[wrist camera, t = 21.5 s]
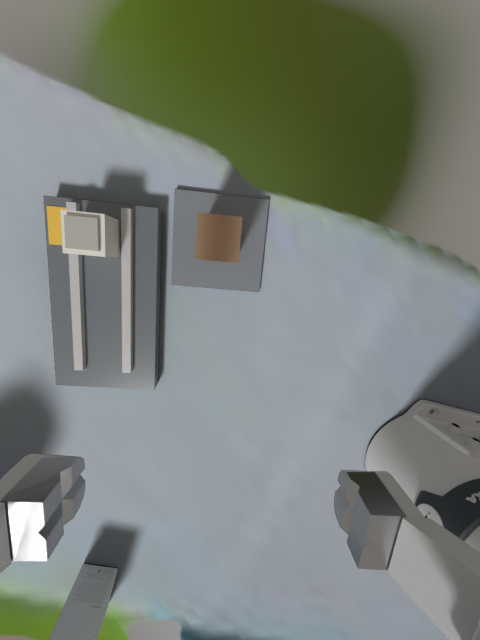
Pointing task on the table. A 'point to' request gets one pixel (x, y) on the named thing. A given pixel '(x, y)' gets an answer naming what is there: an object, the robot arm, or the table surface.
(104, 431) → the table surface
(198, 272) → the mat
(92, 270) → the switch panel
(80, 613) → the small box
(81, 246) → the switch tab
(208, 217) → the wooden block
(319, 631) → the table surface
